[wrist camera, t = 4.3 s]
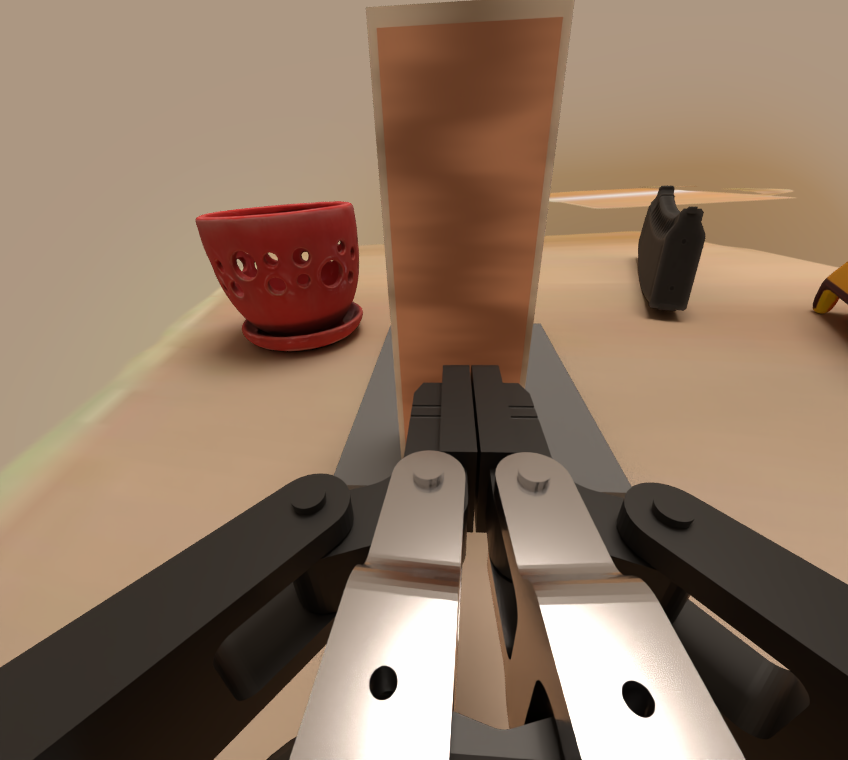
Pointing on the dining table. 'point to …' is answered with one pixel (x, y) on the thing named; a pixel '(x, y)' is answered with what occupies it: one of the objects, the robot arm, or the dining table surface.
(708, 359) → the dining table surface
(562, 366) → the mat
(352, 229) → the plant pot
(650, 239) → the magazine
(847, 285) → the decorative lantern
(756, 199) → the dining table surface
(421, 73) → the slab
